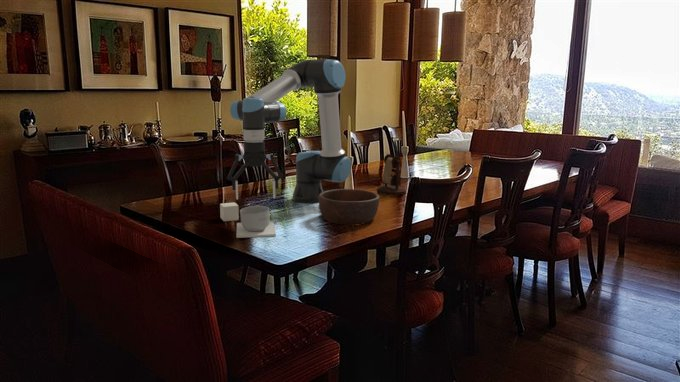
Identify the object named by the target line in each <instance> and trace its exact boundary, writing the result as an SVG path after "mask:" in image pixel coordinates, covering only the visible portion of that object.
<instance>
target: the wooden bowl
mask: <svg viewBox="0 0 680 382" xmlns="http://www.w3.org/2000/svg"><path fill="white" fill-rule="evenodd" d="M318 199H319V202H318V205H319V206H318V207H319V210H320V214H321V216H322V217H323V219H324V220H325V221H327V222H329V223H331V224H334V223H335V225H341V224H344V226H356V225H355V224H360V225H363V224H362V223H365V224H368V223H371V222H372V221H373V220H374V218H375V217H376V215H377V212H378V210H379V209H378V208H379V206H380V205H379V204H380V194H379V193H377V192H374V191H371V190H365V189H357V188H335V189H329V190H323V192H321V193H320V194H319V195H318ZM367 222H368V223H367Z"/></svg>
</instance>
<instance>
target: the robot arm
mask: <svg viewBox="0 0 680 382" xmlns="http://www.w3.org/2000/svg"><path fill="white" fill-rule="evenodd" d="M345 70H346V69H345V68H344V66H343V64H342V63H341V62H340V61H339V60H338V59H337V60H336V59H329V58H328V59H326V58H325V59H305V60H302V61H300V62H298V63H295V64H293V65H292V66H290V67H288V68H287V69H285V70H284V71H283V72H282V73H281V75H280V76H279V77H277V78H276V79H274V80H273V81H271V82H270V83H268V84H267V85H265V86H264V87H262V88H260V89H259V90H257V91H256V92H254V93H253V94H252V95H250V96H249V97H245V98H243V99H242V100H241V99H240V100H235V101H233V102H231V104H230V107H229V113H230V116H231V117H232V119H234V120H236V121H242V123H243V124H242V125H243V128H242V129H243V130H242V131H243V132H242V134H243V135H242V136H243V141H244V142H243V154H238V153H236V154H235V159H234V162H233V164H232V166H231V168H230V170H229V173H228V174H227V177H226V180H227V181H229V182H231V184H232V191H235V199H236V200H239V184H238V183H239V182H238V179H239V178H240V176H241V175H242V174H243V172H244V171H245V170H246V169H247V168H248V167H251V168H253V167H258V168H259V167H260V166H262V167H263V168H264V169H265V171H267V173H268V174H269V175H270V176H271V177H272V178H273V179H272V198H273V199H276V190H278V189H279V180H281V179H283V178H284V176H283V175H284V174H282V172H281V170H280V167H279V166H278V164H277V162H276V161H275V156H274V154H273V153H270V154H269V153H268V154H266V148H265V147H266V146H265V145H266V143H265V141H264V140H265V135H266V134H265V124H269V123H270V124H271V123H279V122H283V120H285V119H286V117H287V107H286V106H285V104H284V103H282V102H280V101H279V100H281V99H282V98H283V97H285V96H287V95H288V94H289V93H291V92H293V91H294V92H295V91H298V90H299V89H302V88H313V93H314V94H315V95H316V96H317V98H318V99H317V100H318V101H317V102H318V112H319V124H320V136H321V137H320V138H321V149H322V150H311V151H309V150H308V151H300V152H298V153H297V154H296V160H295V176H296V177H295V187H294V190H293V193H292V201H293V202H296V203H300V204H301V203H302V204H317V203H318V204H319V199H318V195H319V194H320V193H321V192H324V190H323V186H322V181H326V182H331V183H332V182H333V183H343V182H346V180H347V179H348V177H349V175H350V174H351V169H352V161H351V159H350V158H349V157H348V156H346V151H345V150H344V149H343V148H342V138H341V137H342V136H341V122H340V109H339V95H340V93H341V92H342V88H343V87H344V86H345V84H346V82H345V81H346V79H347V77H346V71H345ZM242 159H243V161H244V163H243V165H241V167H240V168H239V170H238V171H237V172H236V173H235V174H234V172H235V171H236V168H237V166H238V164H239V162H241V160H242ZM267 159H268V161H271V164H272V165H273V168H274V169H275V172H276V173H277V175H276V174H275V172H274V171H273V170H272V169H271V168H270V167H269V166H268V165H267V163H266V162H265V161H266V160H267ZM233 175H234V176H233Z"/></svg>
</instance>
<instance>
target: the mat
mask: <svg viewBox="0 0 680 382" xmlns="http://www.w3.org/2000/svg"><path fill="white" fill-rule="evenodd" d="M263 237H264V238H265V237H269V238H270V237H277V233H276V228H275V223H274V221H269V225H268V226H267V227H266V228H265V229H264V230H261V231H248V230H246V229H245V228H244V227H243V226H242V223H241V222H236V238H237V239H239V238H263Z"/></svg>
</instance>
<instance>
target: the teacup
mask: <svg viewBox="0 0 680 382" xmlns="http://www.w3.org/2000/svg"><path fill="white" fill-rule="evenodd" d="M239 215H240V216H239V217H240V223H242V226H243V227H244V228H245V229H246V230H248V231H261V230H264V229H265V228H266V227H267V226H268V225H269V222H271V220H270V219H271V217H270V207H269V206H267V205H266V206H265V205H260V204H256V205H251V206H246V207H243V208H241V209H239Z"/></svg>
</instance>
